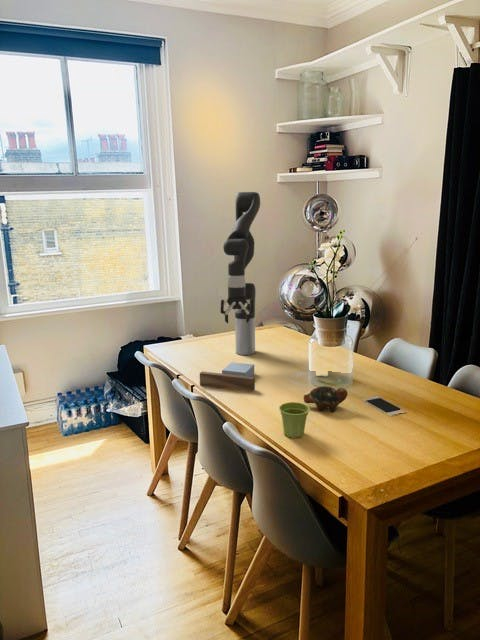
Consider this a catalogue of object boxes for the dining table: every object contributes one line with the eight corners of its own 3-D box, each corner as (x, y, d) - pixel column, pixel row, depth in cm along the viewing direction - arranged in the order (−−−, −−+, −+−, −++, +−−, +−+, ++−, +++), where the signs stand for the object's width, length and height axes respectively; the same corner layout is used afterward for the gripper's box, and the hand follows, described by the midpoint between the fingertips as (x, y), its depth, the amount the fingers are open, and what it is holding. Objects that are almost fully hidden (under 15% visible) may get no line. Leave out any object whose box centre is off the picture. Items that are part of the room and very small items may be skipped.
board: (202, 383, 207) (202, 371, 205) (254, 389, 199) (254, 377, 198) (200, 385, 204) (199, 373, 203) (252, 391, 197) (252, 379, 196)
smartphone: (389, 417, 173) (390, 414, 173) (361, 401, 187) (361, 399, 187) (406, 413, 176) (407, 411, 176) (377, 398, 190) (378, 395, 189)
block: (232, 372, 220) (231, 362, 219) (254, 374, 217) (254, 364, 216) (222, 380, 210) (222, 370, 209) (245, 383, 207) (245, 372, 206)
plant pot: (310, 428, 165) (311, 403, 163) (307, 442, 156) (308, 415, 154) (281, 426, 167) (281, 401, 165) (276, 439, 158) (276, 412, 156)
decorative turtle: (348, 414, 175) (347, 393, 172) (303, 415, 178) (301, 393, 175) (347, 402, 184) (347, 381, 182) (304, 402, 187) (303, 382, 185)
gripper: (252, 284, 227) (252, 320, 230) (219, 285, 226) (220, 321, 229) (254, 286, 220) (254, 324, 223) (220, 287, 219) (221, 324, 222)
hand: (237, 322), depth 226 cm, fingers open, 8 cm apart
